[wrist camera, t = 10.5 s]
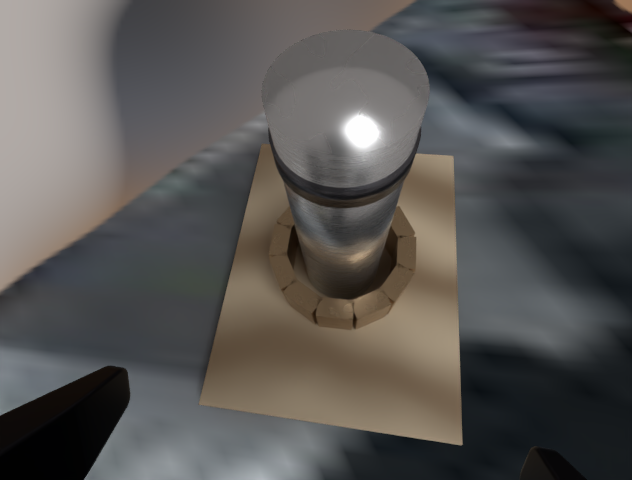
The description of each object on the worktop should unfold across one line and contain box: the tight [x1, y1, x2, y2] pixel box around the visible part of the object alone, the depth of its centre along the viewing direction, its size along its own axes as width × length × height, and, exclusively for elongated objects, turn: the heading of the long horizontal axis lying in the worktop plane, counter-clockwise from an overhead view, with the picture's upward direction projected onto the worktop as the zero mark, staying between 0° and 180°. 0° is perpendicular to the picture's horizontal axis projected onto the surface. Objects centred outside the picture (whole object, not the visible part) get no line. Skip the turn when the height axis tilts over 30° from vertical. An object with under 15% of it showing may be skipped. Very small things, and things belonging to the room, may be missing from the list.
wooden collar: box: [269, 206, 416, 330], centre depth 21 cm, size 8×8×3 cm
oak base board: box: [199, 144, 462, 445], centre depth 23 cm, size 18×14×2 cm
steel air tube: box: [262, 30, 430, 299], centre depth 16 cm, size 5×5×14 cm
